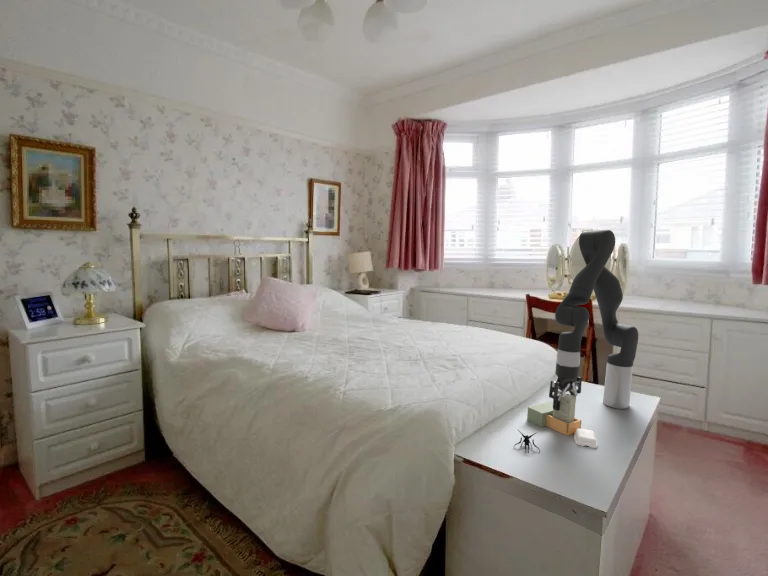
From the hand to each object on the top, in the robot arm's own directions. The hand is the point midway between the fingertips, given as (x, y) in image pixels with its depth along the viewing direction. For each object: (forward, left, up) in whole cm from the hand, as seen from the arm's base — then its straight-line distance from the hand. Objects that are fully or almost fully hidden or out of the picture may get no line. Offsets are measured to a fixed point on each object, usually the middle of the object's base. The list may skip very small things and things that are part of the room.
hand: (564, 407), depth 148 cm
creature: (+24, +4, -8) cm, 25 cm away
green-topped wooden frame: (0, -3, -8) cm, 8 cm away
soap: (+1, +10, -8) cm, 13 cm away
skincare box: (0, 0, -8) cm, 8 cm away
